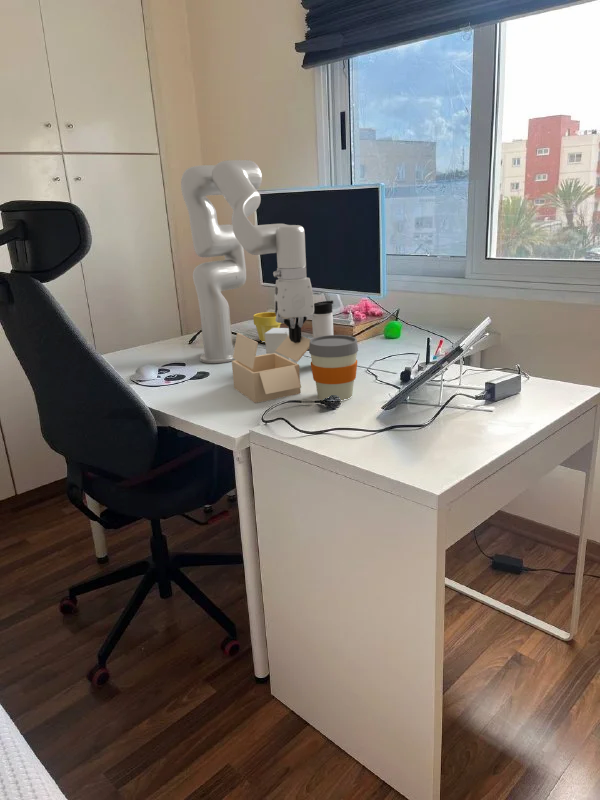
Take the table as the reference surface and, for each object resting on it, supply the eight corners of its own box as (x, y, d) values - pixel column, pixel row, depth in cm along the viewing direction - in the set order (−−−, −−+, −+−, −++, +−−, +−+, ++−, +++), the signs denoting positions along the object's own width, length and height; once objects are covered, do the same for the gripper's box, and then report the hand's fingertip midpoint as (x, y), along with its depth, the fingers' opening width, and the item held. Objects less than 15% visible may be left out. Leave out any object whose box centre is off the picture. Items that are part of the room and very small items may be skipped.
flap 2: (291, 332, 172) (292, 332, 172) (275, 350, 171) (276, 351, 171) (313, 340, 160) (314, 341, 160) (296, 360, 160) (297, 361, 160)
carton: (229, 384, 173) (226, 357, 170) (271, 376, 178) (269, 350, 175) (261, 407, 153) (258, 376, 150) (307, 397, 159) (305, 367, 156)
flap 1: (258, 342, 153) (256, 342, 153) (253, 369, 154) (252, 369, 154) (238, 333, 165) (237, 332, 164) (234, 358, 166) (233, 357, 166)
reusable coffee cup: (324, 407, 150) (321, 349, 146) (303, 393, 161) (300, 339, 157) (368, 398, 155) (367, 341, 150) (345, 386, 166) (343, 332, 161)
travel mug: (334, 368, 183) (331, 302, 176) (312, 368, 184) (309, 303, 177) (337, 363, 188) (334, 299, 182) (316, 363, 190) (313, 299, 183)
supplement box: (298, 368, 185) (295, 327, 181) (290, 375, 179) (287, 333, 175) (275, 367, 188) (273, 327, 184) (266, 374, 181) (263, 332, 177)
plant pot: (287, 338, 225) (285, 311, 221) (276, 344, 215) (274, 317, 212) (262, 337, 228) (260, 311, 225) (250, 343, 219) (248, 317, 216)
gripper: (271, 278, 153) (276, 348, 160) (323, 272, 159) (326, 340, 166) (260, 275, 160) (265, 342, 166) (310, 269, 166) (313, 335, 172)
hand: (295, 341), depth 166 cm, fingers closed
